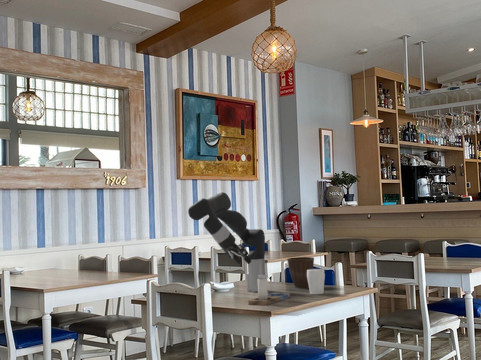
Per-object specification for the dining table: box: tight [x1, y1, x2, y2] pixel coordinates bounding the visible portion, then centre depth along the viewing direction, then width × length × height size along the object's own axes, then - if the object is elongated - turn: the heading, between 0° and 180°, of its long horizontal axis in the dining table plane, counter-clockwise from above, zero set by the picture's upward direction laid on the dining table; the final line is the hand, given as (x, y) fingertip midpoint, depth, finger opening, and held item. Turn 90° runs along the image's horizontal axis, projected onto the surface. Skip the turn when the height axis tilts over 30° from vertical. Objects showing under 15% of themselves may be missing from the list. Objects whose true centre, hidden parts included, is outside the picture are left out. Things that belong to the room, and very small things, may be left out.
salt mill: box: [257, 274, 268, 300], centre depth 273 cm, size 4×4×13 cm
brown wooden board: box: [247, 292, 291, 306], centre depth 279 cm, size 9×26×2 cm, turn 151°
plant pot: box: [286, 256, 315, 289], centre depth 329 cm, size 15×15×16 cm
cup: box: [307, 268, 326, 295], centre depth 301 cm, size 9×9×12 cm
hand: (244, 262), depth 269 cm, fingers open, 8 cm apart
